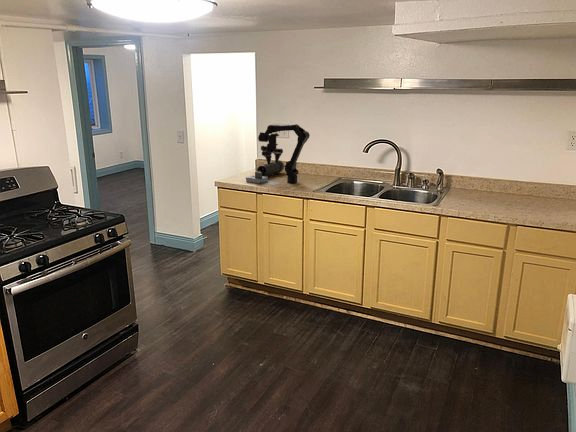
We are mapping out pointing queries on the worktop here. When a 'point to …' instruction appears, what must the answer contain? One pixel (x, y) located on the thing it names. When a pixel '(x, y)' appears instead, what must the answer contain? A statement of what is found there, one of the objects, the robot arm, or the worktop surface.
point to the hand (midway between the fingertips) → (272, 163)
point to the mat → (271, 183)
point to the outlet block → (256, 179)
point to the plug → (258, 174)
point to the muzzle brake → (271, 168)
